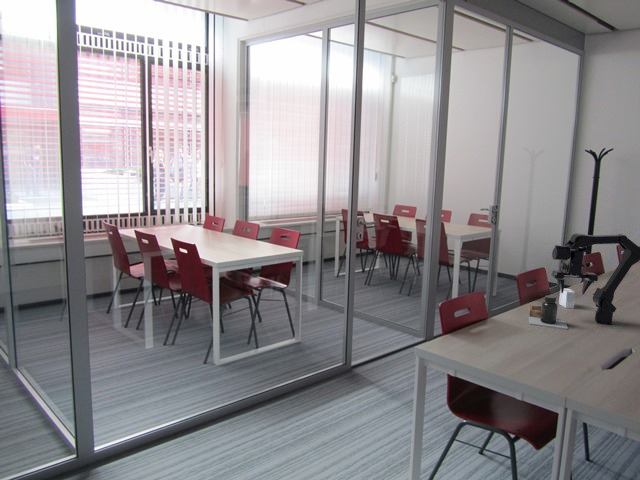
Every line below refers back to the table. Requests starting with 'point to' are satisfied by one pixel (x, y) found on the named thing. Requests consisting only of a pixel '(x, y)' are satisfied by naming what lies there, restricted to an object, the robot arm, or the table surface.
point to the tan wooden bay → (534, 311)
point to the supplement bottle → (549, 310)
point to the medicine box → (567, 298)
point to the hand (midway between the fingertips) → (572, 293)
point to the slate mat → (557, 325)
